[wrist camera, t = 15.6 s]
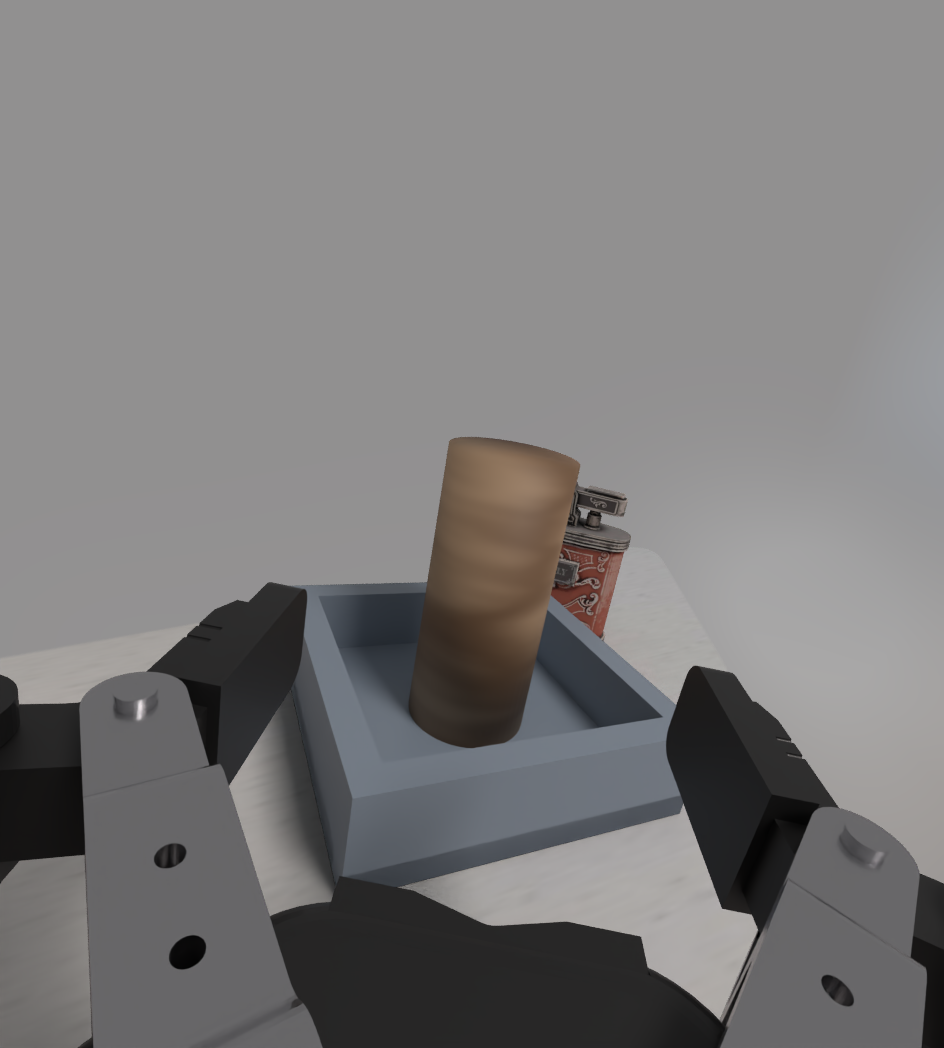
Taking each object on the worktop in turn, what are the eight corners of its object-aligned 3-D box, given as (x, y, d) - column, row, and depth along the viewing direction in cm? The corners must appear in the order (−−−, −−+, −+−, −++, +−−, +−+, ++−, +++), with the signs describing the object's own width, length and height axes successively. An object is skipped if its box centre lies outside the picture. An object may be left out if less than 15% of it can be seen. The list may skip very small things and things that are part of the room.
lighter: (473, 621, 37) (501, 469, 34) (488, 602, 40) (515, 461, 37) (598, 660, 35) (640, 502, 32) (604, 636, 38) (643, 490, 35)
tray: (339, 901, 18) (353, 798, 17) (283, 656, 30) (289, 585, 28) (679, 813, 24) (707, 732, 23) (520, 638, 36) (533, 579, 35)
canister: (431, 757, 23) (483, 465, 19) (394, 681, 28) (430, 432, 24) (542, 738, 25) (607, 474, 22) (491, 671, 30) (538, 442, 26)
